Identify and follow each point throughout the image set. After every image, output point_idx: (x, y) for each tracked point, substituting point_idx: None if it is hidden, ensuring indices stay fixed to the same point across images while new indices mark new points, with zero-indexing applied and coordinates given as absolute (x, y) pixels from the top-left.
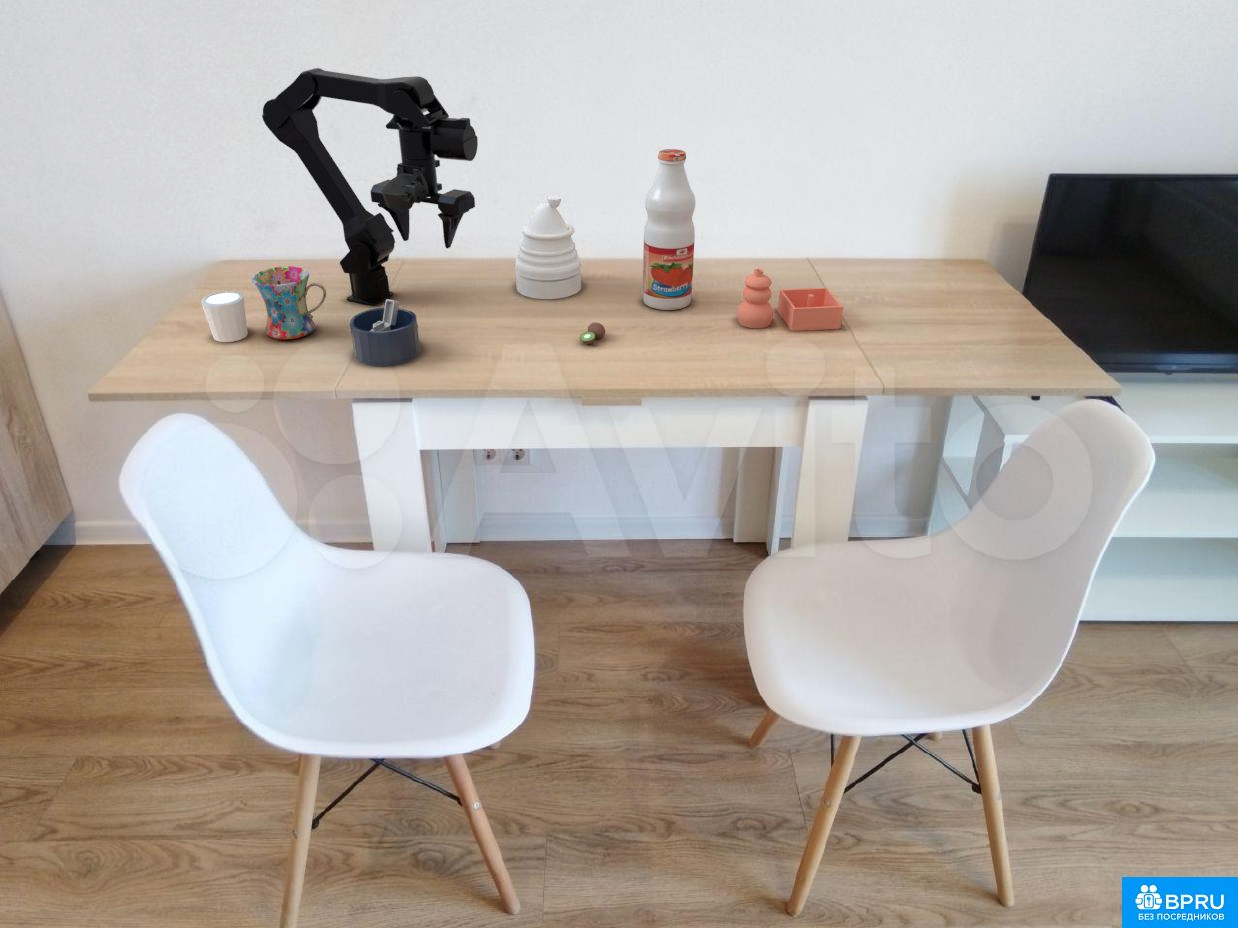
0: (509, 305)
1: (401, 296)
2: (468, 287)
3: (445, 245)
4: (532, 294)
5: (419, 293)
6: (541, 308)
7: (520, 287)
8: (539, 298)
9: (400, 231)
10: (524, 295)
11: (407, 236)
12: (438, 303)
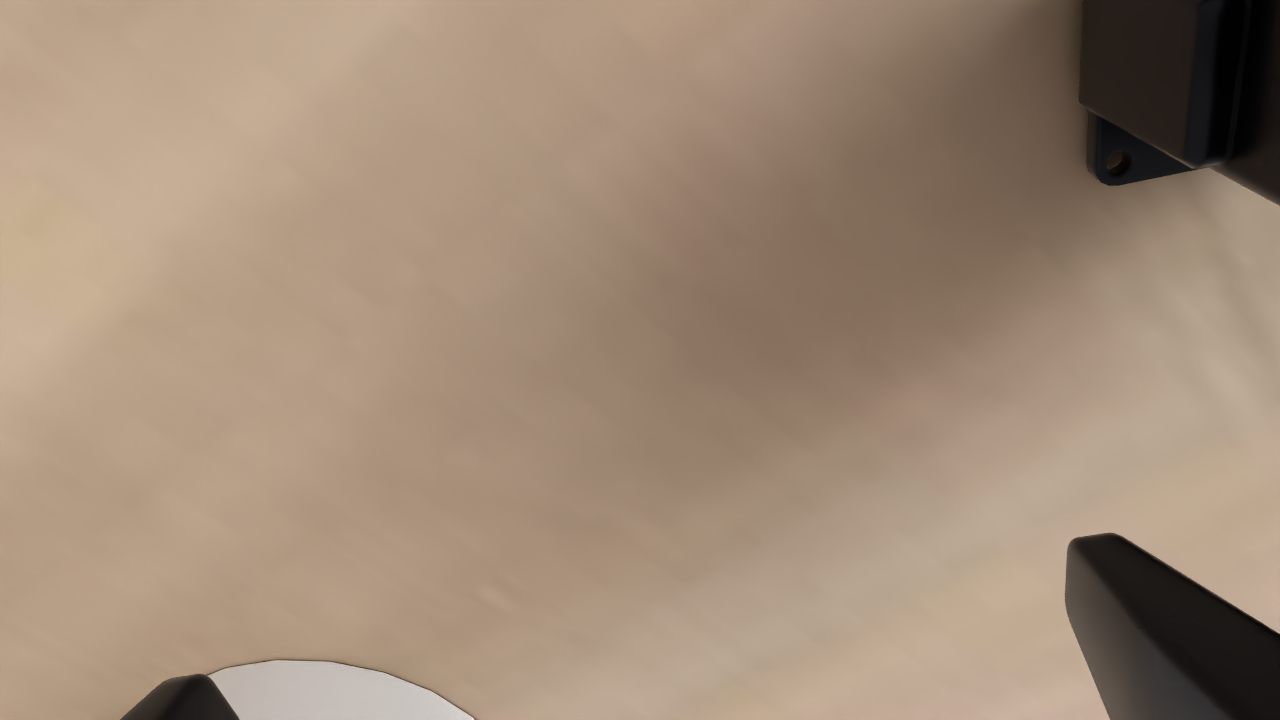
0: (243, 528)
1: (1014, 200)
2: (697, 576)
3: (159, 710)
4: (244, 682)
5: (921, 328)
6: (70, 597)
7: (347, 703)
8: (211, 675)
9: (1261, 661)
10: (317, 662)
11: (1098, 648)
12: (645, 280)
